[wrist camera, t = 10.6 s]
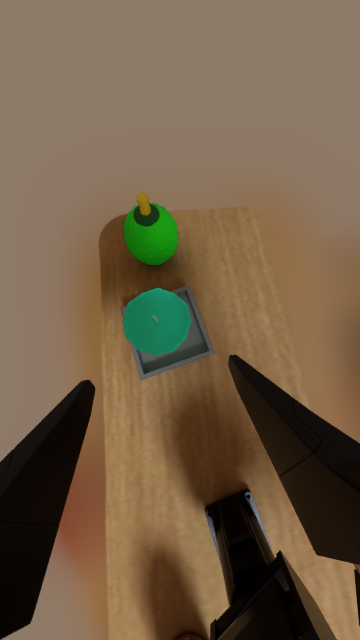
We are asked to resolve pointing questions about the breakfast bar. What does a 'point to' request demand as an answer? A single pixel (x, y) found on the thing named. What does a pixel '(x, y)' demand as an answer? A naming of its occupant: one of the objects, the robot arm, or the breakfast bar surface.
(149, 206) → the ornament
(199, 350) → the tray
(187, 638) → the supplement bottle
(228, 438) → the breakfast bar surface
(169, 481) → the breakfast bar surface
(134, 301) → the candle
